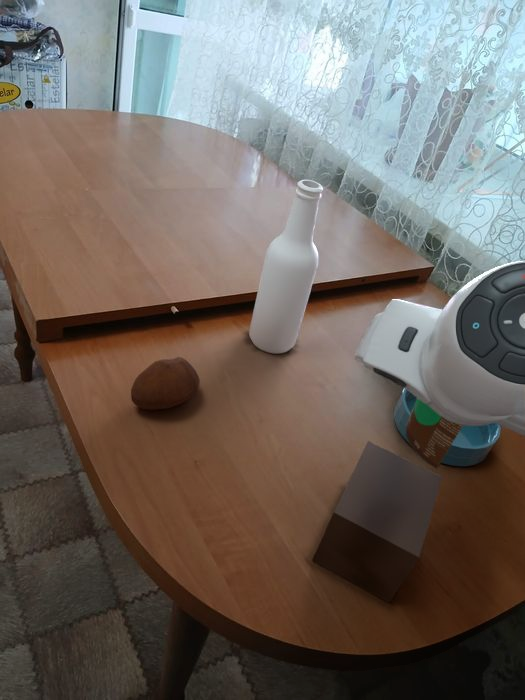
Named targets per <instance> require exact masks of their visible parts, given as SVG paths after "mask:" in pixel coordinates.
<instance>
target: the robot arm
mask: <svg viewBox="0 0 525 700" xmlns="http://www.w3.org/2000/svg"><path fill="white" fill-rule="evenodd" d="M419 304H420V303H416V304H415V302H411V301H405V300H401V299H391V300H390V301H389V303H388V304H387V306H386V307H385V309H384V310H383V312H379V313H377V314H376V315H375V316H374V317H373V318H372V319H371V321H370V322H369V324H368V326H367V329H366V331H365V333H364V335H363V337H362V339H361V341H360V343H359V345H358V347H357V349H356V352H355V354H354V360H355V361H356V362H358V363H360V364H361V365H363V366H364V367H365V368H366V369H369V371H372V372H374V374H376V375H378V376H381V377H383V378H385V379H387V380H388V381H390V382H392V383H394V384H395V385H397V386H399V387H400V388H403V389H404V388H405V389H406V390H408V391H409V392H410V393H412V394H413V395H414V396H415V397H417V398H418V399H419V400H420V401H422V402H423V403H425V404H427V405H429V406H430V407H431V408H432V409H433V410H434V411H435V412H436V413H437V414H439V415H440V416H442V417H443V418H445V419H447V420H449V421H451V422H453V423H457V424H460V425H466V426H482V425H487V424H491V423H496V424H498V425H500V426H501V427H503V428H505V429H507V430H509V431H512V432H513V433H517V434H519V435H521V436H523V437H525V260H518V261H513V262H509V263H506V264H502V265H500V266H497V267H494V268H492V269H490V270H488V271H485V272H484V273H482V274H480V275H479V276H477V277H475V278H473V279H472V280H470V281H469V282H468V283H467V284H465V285H464V286H462V287H461V288H460V289H459V290H457V292H456V293H455V294H454V295H453V296H452V297H451V298H450V299H449V300H448V302H447V303H446V304H445V306H444V308H443V309H442V308H435V307H432V306H429V307H427V306H428V305H426V306H423V305H424V304H422V305H419ZM431 307H432V308H431Z"/></svg>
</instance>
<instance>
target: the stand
mask: <svg viewBox="0 0 525 700" xmlns="http://www.w3.org/2000/svg"><path fill="white" fill-rule="evenodd" d="M442 479H443V476H442V475H439V474H438V473H435V472H433V471H432V470H429V469H427V468H425V467H423V466H421V465H419V464H417V463H415V462H413V461H411V460H408V459H407V458H405V457H402V456H401V455H398V454H396V453H394V452H392V451H391V450H388V449H386V448H384V447H383V446H379V445H378V444H375V443H373V442H372V441H370V440H368V441H367V442H366V444H365V446H364V448H363V450H362V453H361V454H360V457H359V459H358V461H357V463H356V465H355V467H354V469H353V471H352V474H351V475H350V478H349V479H348V481H347V484H346V486H345V488H344V490H343V492H342V494H341V496H340V498H339V501H338V502H337V504H336V507H335V509H334V510H333V513H332V515H331V518H330V519H329V522H328V524H327V526H326V529H325V531H324V532H323V535H322V538H321V540H320V541H319V544H318V546H317V549H316V551H315V552H314V555H313V558H312V562H314V563H316V564H318V565H319V566H321V567H323V568H325V569H326V570H328V571H330V572H332V573H333V574H336V575H337V576H339V577H341V578H342V579H344V580H346V581H348V582H350V583H351V584H353V585H355V586H357V587H358V588H360V589H362V590H364V591H366V592H367V593H369V594H371V595H373V596H375V597H376V598H378V599H380V600H382V601H383V602H386V603H387V604H389V603H390V602H391V601H392V599H393V598H394V596H395V595H396V593H397V592H398V590H399V588H400V587H401V586H402V585H403V583H404V581H405V580H406V578H407V576H408V575H409V574H410V572H411V571H412V569H413V568H414V566H415V565H416V563H417V562H418V560H419V558H420V557H421V553H422V549H423V545H424V543H425V539H426V535H427V532H428V529H429V525H430V521H431V518H432V514H433V511H434V507H435V504H436V500H437V497H438V494H439V490H440V487H441V484H442Z"/></svg>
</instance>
